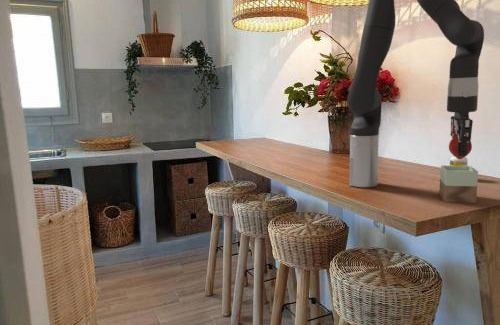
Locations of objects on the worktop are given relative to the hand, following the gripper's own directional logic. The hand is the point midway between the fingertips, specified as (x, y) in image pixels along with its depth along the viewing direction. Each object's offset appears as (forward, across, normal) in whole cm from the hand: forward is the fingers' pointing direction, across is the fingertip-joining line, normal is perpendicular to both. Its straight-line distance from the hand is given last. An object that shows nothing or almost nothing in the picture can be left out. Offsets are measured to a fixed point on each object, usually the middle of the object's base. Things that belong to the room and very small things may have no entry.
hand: (459, 153), depth 113 cm
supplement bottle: (+13, -26, +6) cm, 30 cm away
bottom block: (+13, 0, 0) cm, 13 cm away
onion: (+2, 0, 0) cm, 2 cm away
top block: (+8, 0, 0) cm, 8 cm away
